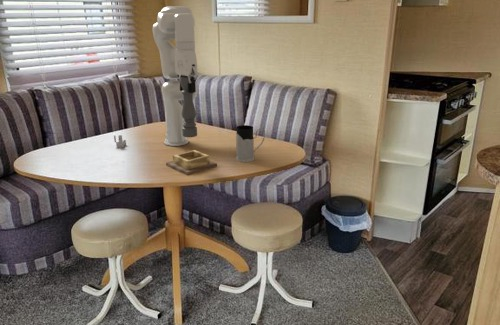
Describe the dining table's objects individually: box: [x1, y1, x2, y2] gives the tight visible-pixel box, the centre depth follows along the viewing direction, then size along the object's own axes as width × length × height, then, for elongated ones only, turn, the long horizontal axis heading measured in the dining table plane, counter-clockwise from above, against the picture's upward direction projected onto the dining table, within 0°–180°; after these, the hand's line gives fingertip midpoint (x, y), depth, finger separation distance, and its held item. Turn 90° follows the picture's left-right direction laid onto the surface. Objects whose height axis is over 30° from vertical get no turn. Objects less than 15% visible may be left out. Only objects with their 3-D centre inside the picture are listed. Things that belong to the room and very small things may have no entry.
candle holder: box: [180, 76, 198, 138], centre depth 174 cm, size 6×6×25 cm
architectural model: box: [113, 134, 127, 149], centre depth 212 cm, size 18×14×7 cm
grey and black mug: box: [235, 124, 266, 163], centre depth 190 cm, size 9×14×15 cm, turn 111°
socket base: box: [165, 149, 218, 176], centre depth 182 cm, size 16×16×5 cm
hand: (187, 91), depth 172 cm, fingers closed on candle holder, 5 cm apart
